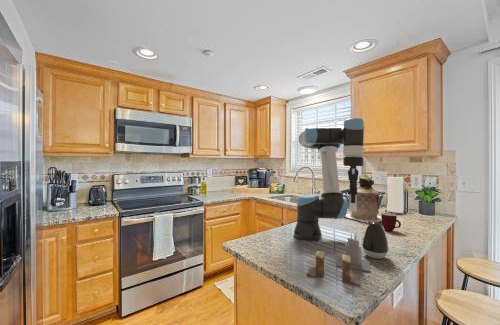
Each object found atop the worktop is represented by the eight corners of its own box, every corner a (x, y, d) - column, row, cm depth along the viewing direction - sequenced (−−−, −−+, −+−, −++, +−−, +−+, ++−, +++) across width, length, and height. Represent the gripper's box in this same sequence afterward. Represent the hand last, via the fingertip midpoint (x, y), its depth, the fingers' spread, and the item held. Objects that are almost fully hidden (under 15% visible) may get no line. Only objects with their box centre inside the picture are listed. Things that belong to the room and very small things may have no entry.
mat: (336, 266, 93) (336, 265, 93) (338, 257, 102) (338, 256, 102) (370, 272, 88) (370, 271, 88) (368, 262, 98) (368, 260, 98)
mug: (402, 231, 142) (402, 215, 142) (399, 234, 136) (399, 217, 136) (383, 228, 149) (383, 212, 149) (379, 230, 144) (379, 214, 144)
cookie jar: (369, 224, 158) (369, 177, 158) (339, 217, 179) (339, 175, 179) (390, 220, 170) (391, 176, 170) (360, 213, 191) (360, 174, 191)
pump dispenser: (379, 251, 109) (379, 219, 109) (393, 261, 99) (394, 225, 99) (357, 252, 109) (358, 219, 109) (370, 261, 98) (370, 225, 98)
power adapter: (358, 266, 92) (358, 235, 92) (344, 261, 96) (345, 232, 96) (361, 264, 94) (361, 234, 94) (348, 259, 98) (348, 231, 98)
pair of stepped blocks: (306, 276, 85) (306, 255, 85) (309, 268, 92) (309, 248, 92) (359, 286, 79) (359, 263, 78) (358, 276, 85) (359, 256, 85)
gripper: (365, 155, 84) (364, 215, 84) (361, 156, 106) (361, 203, 107) (342, 155, 86) (342, 213, 87) (344, 156, 109) (343, 202, 110)
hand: (352, 207), depth 97 cm, fingers open, 13 cm apart
